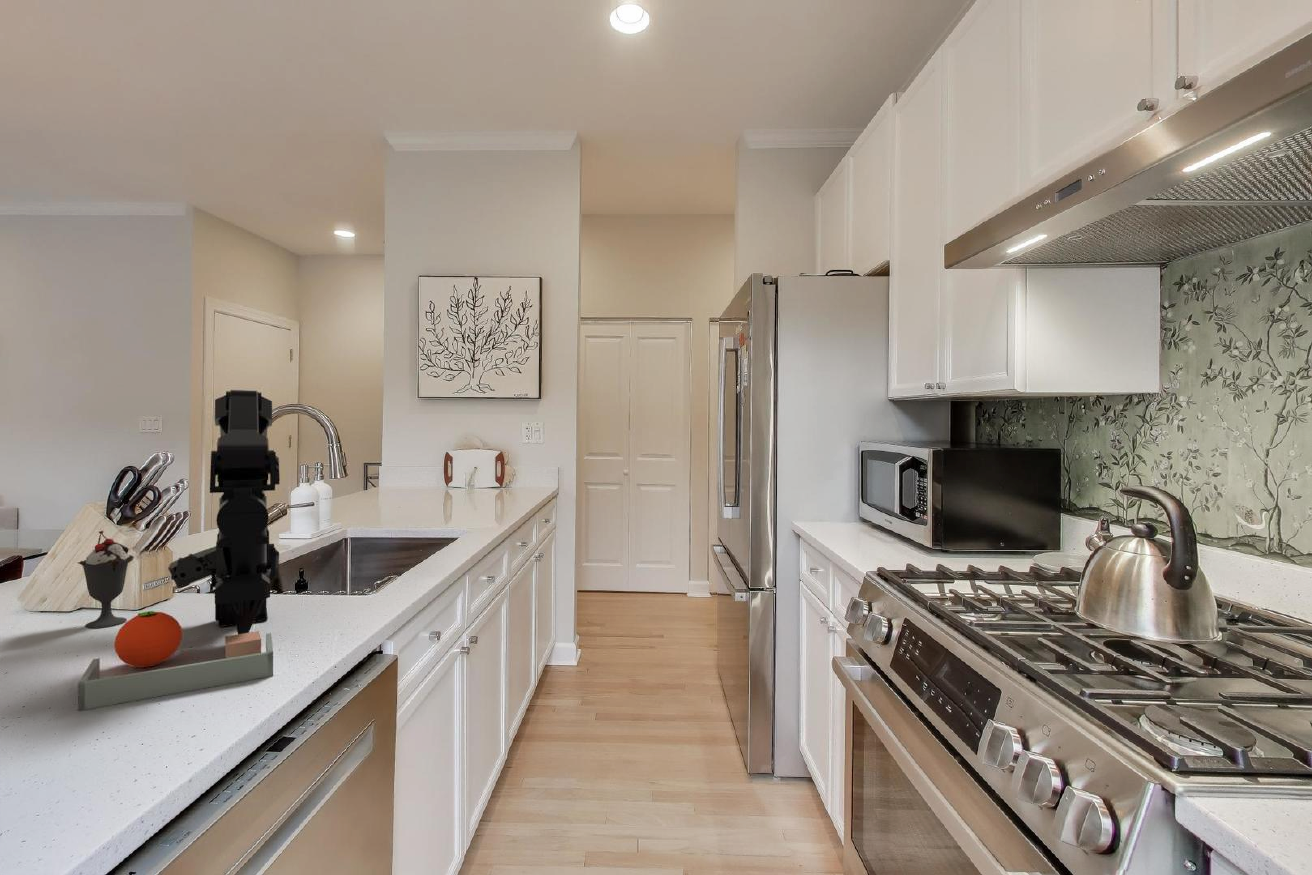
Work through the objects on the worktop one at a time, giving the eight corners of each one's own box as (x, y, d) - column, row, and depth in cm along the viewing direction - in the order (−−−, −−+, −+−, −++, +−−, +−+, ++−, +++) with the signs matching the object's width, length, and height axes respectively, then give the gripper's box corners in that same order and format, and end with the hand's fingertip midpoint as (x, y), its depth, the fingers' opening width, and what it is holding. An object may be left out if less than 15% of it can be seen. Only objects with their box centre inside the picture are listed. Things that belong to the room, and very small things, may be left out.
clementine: (104, 665, 82) (104, 611, 81) (168, 649, 87) (168, 599, 87) (124, 680, 77) (124, 623, 77) (190, 663, 83) (190, 610, 83)
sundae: (86, 633, 93) (86, 533, 93) (71, 625, 97) (70, 529, 96) (141, 621, 99) (140, 528, 98) (124, 614, 102) (124, 523, 102)
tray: (271, 654, 86) (271, 633, 86) (273, 675, 79) (273, 652, 79) (93, 683, 76) (93, 659, 76) (77, 710, 69) (77, 683, 69)
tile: (259, 648, 89) (258, 630, 89) (261, 656, 86) (261, 639, 86) (225, 654, 87) (225, 636, 87) (226, 663, 83) (225, 644, 83)
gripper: (179, 523, 93) (179, 626, 94) (165, 545, 78) (166, 668, 78) (266, 518, 100) (266, 615, 100) (270, 537, 84) (270, 651, 84)
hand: (243, 635), depth 91 cm, fingers closed
